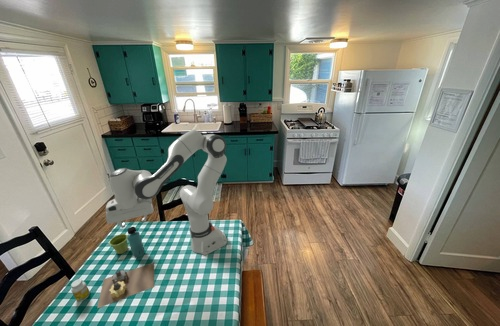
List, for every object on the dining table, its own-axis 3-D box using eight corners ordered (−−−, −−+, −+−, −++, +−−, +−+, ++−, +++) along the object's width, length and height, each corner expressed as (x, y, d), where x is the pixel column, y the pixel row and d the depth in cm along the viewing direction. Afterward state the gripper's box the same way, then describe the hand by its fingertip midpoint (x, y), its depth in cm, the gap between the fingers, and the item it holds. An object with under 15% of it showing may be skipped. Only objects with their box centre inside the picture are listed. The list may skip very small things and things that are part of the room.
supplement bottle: (92, 292, 100) (86, 278, 97) (82, 303, 95) (75, 289, 92) (84, 290, 101) (77, 276, 98) (73, 300, 97) (66, 286, 93)
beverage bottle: (140, 260, 117) (132, 233, 110) (130, 258, 119) (121, 231, 111) (148, 251, 123) (140, 225, 115) (138, 250, 125) (130, 224, 117)
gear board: (154, 264, 115) (152, 255, 112) (155, 288, 101) (152, 279, 99) (104, 281, 106) (100, 272, 103) (98, 310, 92) (93, 301, 90)
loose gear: (127, 283, 103) (125, 279, 102) (125, 294, 97) (124, 290, 96) (112, 288, 100) (110, 284, 99) (110, 300, 95) (108, 296, 94)
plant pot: (111, 249, 125) (107, 239, 122) (128, 242, 131) (125, 231, 127) (115, 259, 119) (110, 247, 115) (132, 250, 124) (129, 239, 121)
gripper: (150, 193, 104) (156, 215, 109) (103, 203, 96) (112, 226, 102) (150, 199, 99) (156, 222, 104) (101, 210, 91) (110, 234, 96)
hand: (134, 224), depth 103 cm, fingers open, 8 cm apart
